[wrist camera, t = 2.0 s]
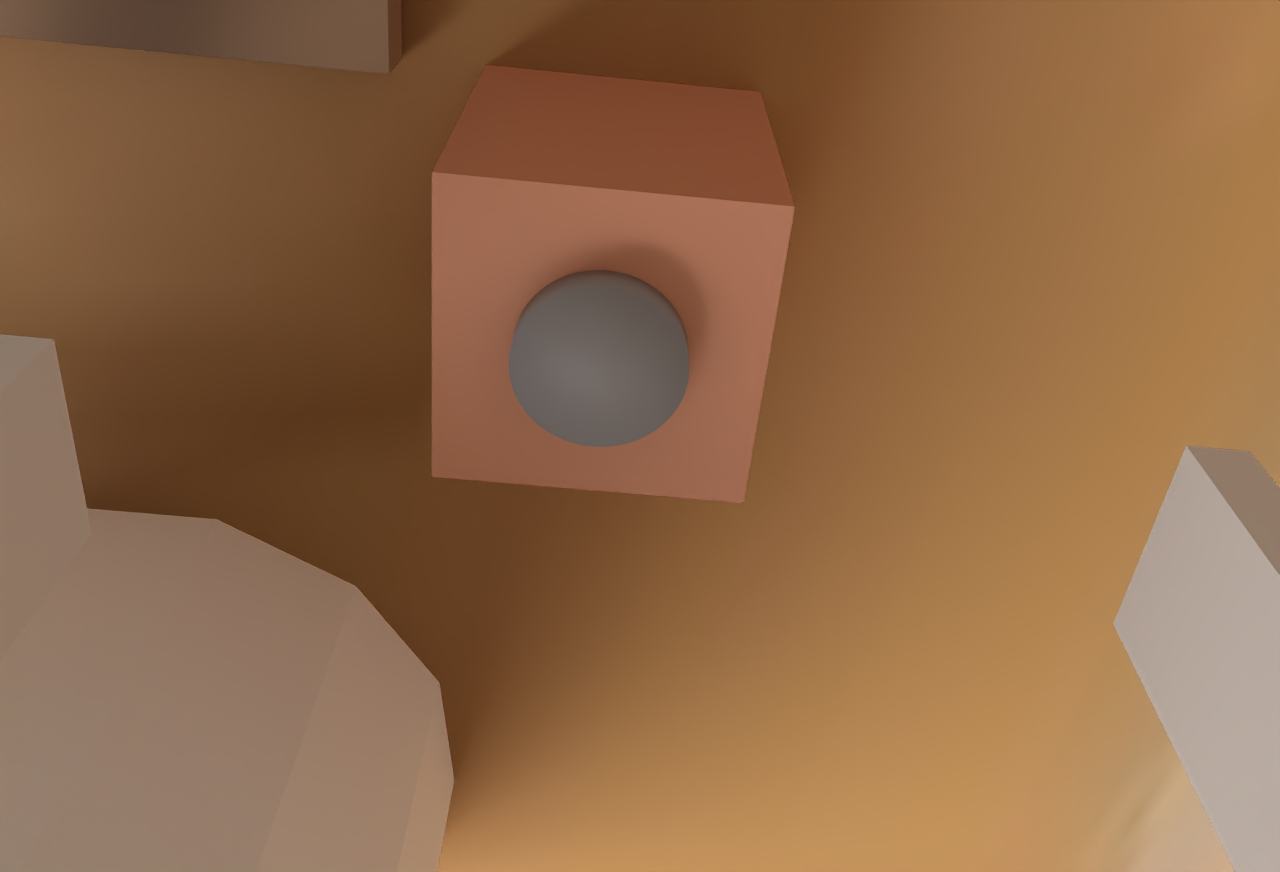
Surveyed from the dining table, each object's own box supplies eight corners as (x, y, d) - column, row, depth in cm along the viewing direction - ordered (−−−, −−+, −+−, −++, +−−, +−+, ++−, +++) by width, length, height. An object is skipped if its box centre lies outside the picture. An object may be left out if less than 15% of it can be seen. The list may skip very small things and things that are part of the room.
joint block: (480, 313, 23) (424, 498, 18) (486, 64, 21) (424, 186, 15) (724, 336, 24) (746, 525, 18) (760, 91, 21) (800, 222, 15)
